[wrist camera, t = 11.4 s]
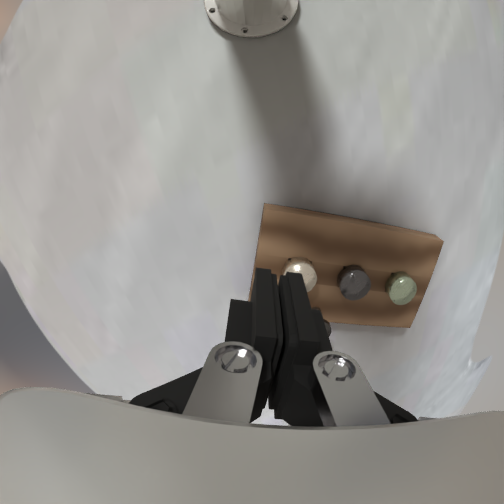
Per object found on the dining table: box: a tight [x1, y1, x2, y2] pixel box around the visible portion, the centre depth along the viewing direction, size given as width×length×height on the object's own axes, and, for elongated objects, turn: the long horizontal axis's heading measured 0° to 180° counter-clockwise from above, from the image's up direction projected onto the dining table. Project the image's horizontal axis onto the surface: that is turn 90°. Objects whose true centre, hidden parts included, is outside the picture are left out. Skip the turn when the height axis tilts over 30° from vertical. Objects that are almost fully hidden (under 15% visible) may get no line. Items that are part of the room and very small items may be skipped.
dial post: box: [311, 307, 331, 337], centre depth 43 cm, size 3×3×5 cm
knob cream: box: [282, 257, 317, 292], centre depth 43 cm, size 4×4×5 cm
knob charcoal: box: [337, 265, 371, 300], centre depth 43 cm, size 4×4×5 cm
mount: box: [248, 203, 444, 328], centre depth 45 cm, size 16×28×3 cm, turn 81°
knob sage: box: [385, 271, 417, 305], centre depth 44 cm, size 4×4×5 cm
